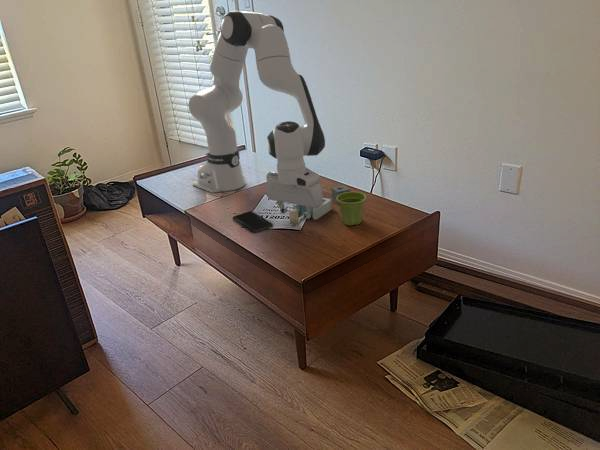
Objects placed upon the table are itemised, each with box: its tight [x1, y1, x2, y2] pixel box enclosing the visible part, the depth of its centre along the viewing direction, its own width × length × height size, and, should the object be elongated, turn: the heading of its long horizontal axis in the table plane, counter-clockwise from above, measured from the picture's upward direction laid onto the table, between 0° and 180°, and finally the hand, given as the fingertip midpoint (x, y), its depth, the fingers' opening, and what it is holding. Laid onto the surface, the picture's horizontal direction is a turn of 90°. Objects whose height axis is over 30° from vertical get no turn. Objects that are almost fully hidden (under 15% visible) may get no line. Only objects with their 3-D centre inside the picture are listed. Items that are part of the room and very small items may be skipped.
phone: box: [232, 210, 274, 234], centre depth 163 cm, size 8×1×15 cm
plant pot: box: [336, 191, 367, 226], centre depth 156 cm, size 9×9×9 cm
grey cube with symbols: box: [331, 184, 352, 206], centre depth 173 cm, size 5×5×5 cm
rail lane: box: [292, 197, 333, 220], centre depth 167 cm, size 9×10×4 cm
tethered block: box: [288, 206, 314, 226], centre depth 162 cm, size 5×14×7 cm, turn 144°
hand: (295, 215), depth 158 cm, fingers open, 8 cm apart
